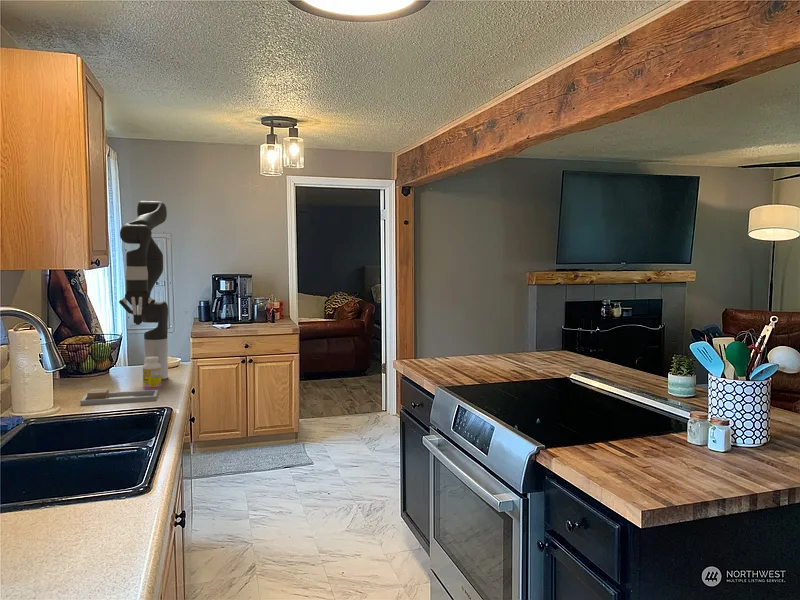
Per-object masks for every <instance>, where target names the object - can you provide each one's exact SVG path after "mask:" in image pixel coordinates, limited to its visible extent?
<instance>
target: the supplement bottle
mask: <svg viewBox="0 0 800 600" xmlns="http://www.w3.org/2000/svg"><path fill="white" fill-rule="evenodd" d="M145 361H146V364H145V363H144V364H143V365H142V388H143V389H144V390H145V389H146V390H157V389H160V388H161V387H162V379H161V364H160V363H158V357H157V356H151V357H146V358H145V357H144V362H145Z"/></svg>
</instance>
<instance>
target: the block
mask: <svg viewBox="0 0 800 600" xmlns="http://www.w3.org/2000/svg"><path fill="white" fill-rule="evenodd" d="M109 392H110V391H109V388H95V389H94V388H93V389H89V391H88V392H87V393H86V394H87V400H91V399H108V398H109Z"/></svg>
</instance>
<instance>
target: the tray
mask: <svg viewBox="0 0 800 600" xmlns="http://www.w3.org/2000/svg"><path fill="white" fill-rule="evenodd" d="M158 396H159V389H146V390H145V389H144V390H143V389H142V390H130V391H129V390H126V391H109V398H108V399H91V400H87V393H86V394H84V396H83V398H82V399H81V400H80V406H87V405H89V406H91V405H103V404H104V405H106V404H109V405H110V404H124V403H125V404H126V403H137V402H139V403H140V402H156V401H157V398H158Z"/></svg>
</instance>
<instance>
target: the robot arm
mask: <svg viewBox="0 0 800 600" xmlns="http://www.w3.org/2000/svg"><path fill="white" fill-rule="evenodd" d="M136 212H137V215H136V216H137V217H136V218H135V219H134V220H133V221H129V222H127V223H125V224H123V226H122V227H121V228H120V231H119V237H120V239H121V241H122V242H123V243H125V244H127V245H130V244H131V245H132V244H133V245H134V244H135V245H139V247H138V248H136V249H130V250H128V251H126V253H125V254H126V255H125V262H126V263H125V264H126V266H125V267H126V269H125V295H124V297H123V298H122V299H119V301H118V303H119V304H120V305H121V306H122V308H123V309H124V310H125V311H126V312H127V313H128V314H131V315H133V324H135V325H136V326H140V325H141V324H142V323H144V324H145V323H146V324H148V323H151V324H155V323H156V324H157V326H156V327H155V328H153V329H150V330H147V331H145V332H144V333H143V343H144V345H143V347H144V349H143V350H144V353H143V354H144V359H145V358H146V357H151V356H157V357H158V363H160V364H161V380H167V379H168V378H169V358H168V356H169V354H168V352H169V351H168V350H169V349H168V343H169V342H168V328H169V327H168V325H169V324H168V322H169V307H168V303H167V302H166V301H165V300H164V301H162V300H156V299H153V298H152V297H151V294H152V291H153V289H154V287H155V285H156V283H157V281H158V280H160V278H161V275H162V274H163V272H164V255H163V252H162V250H161V248H160V247H159V246H158V244H157V243H156V242H155V240H154V239H153V236H152V230H153V229H154V228H156V227H158V226H160V225H161V224H163V223H165V222H166V220H167V213H168V212H167V205H166V204H165V203H164V202H163V201H157V200H156V201H155V200H151V201H149V200H139V201H138V204H137V209H136ZM127 303H129V305H131V307H132V308H130V307H129V306H128V304H127ZM144 364H146V361H145V360H144Z"/></svg>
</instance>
